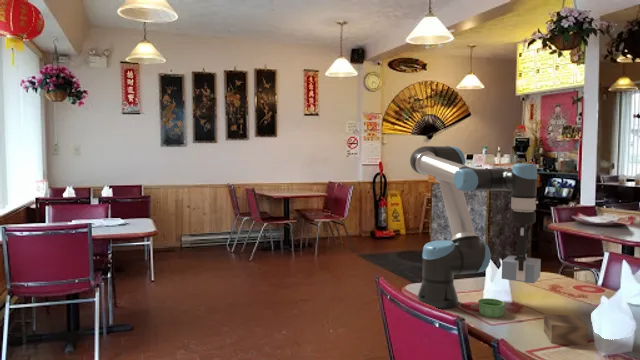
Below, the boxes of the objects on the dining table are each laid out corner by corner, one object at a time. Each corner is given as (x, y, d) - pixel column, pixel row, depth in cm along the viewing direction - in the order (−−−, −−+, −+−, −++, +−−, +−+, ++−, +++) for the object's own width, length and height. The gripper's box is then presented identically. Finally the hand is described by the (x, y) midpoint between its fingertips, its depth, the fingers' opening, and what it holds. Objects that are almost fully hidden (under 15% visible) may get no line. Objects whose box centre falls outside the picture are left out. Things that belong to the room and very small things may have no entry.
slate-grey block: (501, 278, 160) (502, 260, 160) (509, 272, 168) (509, 255, 168) (534, 283, 155) (534, 265, 154) (540, 276, 163) (540, 259, 162)
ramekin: (502, 320, 167) (502, 307, 167) (475, 315, 172) (475, 303, 172) (506, 312, 175) (506, 300, 175) (480, 308, 180) (480, 297, 179)
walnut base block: (551, 343, 147) (551, 324, 146) (543, 332, 156) (544, 313, 156) (587, 347, 144) (588, 327, 144) (577, 334, 154) (578, 316, 154)
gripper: (535, 215, 148) (532, 286, 149) (536, 207, 169) (534, 269, 170) (509, 213, 151) (506, 283, 152) (513, 206, 172) (511, 267, 173)
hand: (521, 276), depth 161 cm, fingers closed on slate-grey block, 11 cm apart
